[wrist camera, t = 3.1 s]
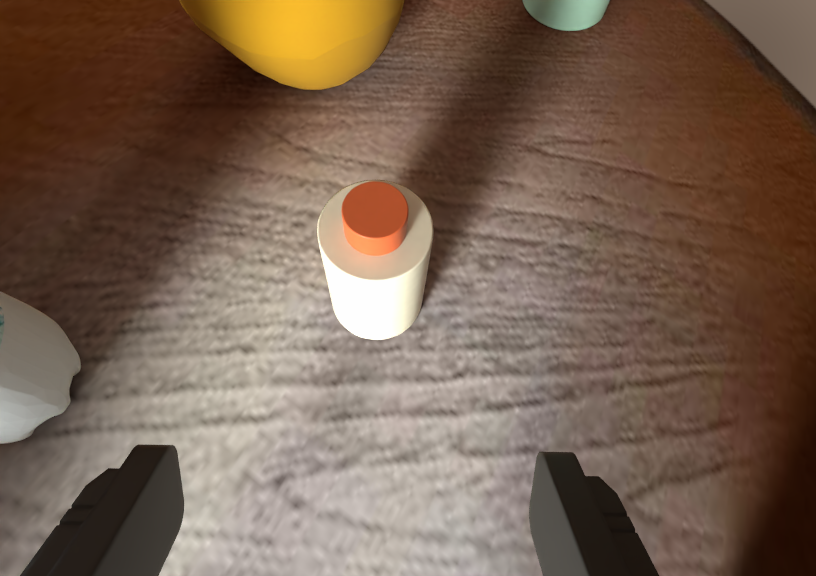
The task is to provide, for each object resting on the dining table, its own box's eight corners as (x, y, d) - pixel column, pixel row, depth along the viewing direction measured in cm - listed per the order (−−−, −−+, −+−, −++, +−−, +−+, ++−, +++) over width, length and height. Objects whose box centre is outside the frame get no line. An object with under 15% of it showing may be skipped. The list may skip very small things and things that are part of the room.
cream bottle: (437, 280, 31) (456, 187, 22) (396, 356, 29) (402, 286, 21) (359, 243, 31) (350, 140, 23) (315, 315, 29) (288, 231, 21)
